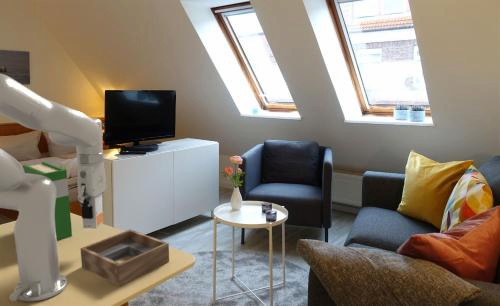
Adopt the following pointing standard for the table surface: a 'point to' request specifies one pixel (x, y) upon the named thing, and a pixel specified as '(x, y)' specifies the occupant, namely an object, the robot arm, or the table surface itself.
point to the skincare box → (95, 212)
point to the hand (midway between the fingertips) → (93, 214)
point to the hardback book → (62, 195)
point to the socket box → (118, 246)
